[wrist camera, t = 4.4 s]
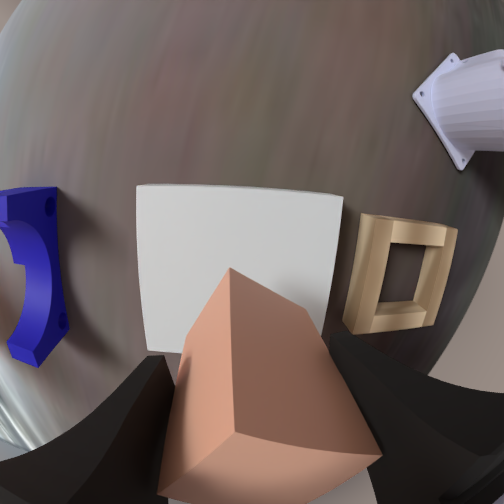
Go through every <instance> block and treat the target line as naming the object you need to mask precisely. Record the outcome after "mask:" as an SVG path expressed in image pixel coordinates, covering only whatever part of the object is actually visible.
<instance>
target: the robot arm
mask: <svg viewBox="0 0 504 504" xmlns="http://www.w3.org/2000/svg"><path fill="white" fill-rule="evenodd" d="M420 93H421V94H422V96H421V95H420ZM413 99H414V101H415V102H416V104H417V105H418V106H419V108H420V109H421V111H422V112H423V113H424V115H425V116H426V118H427V119H428V121H429V122H430V124H431V125H432V127H433V128H434V130H435V131H436V133H437V135H438V136H439V138H440V139H441V141H442V143H443V144H444V146H445V148H446V150H447V151H448V153H449V155H450V157H451V158H452V160H453V162H454V164H455V166H456V168H457V169H458V170H463V169H464V168H465V166H466V164H467V163H468V161H469V160H470V158H471V157H472V155H473V154H474V152H475V150H477V151H501V152H504V50H495V51H491V52H487V53H484V54H480V55H477V56H474V57H470V58H467V59H464V60H461V61H460V59H459V58H458V57H457V55H456V54H454V53H451V54H450V55H449V56H448V57H447V58H446V59H445V60H444V61H443V62H442V63H441V64H440V65H439V66H438V67H437V69H436V70H435V71H434V72H433V73H432V74H431V75H430V76H429V77H428V78H427V79H426V80H425V81H424V82H423V83H422V84H421V85H420V87H419V88H418V89H417V90H416V91H415V92H414V93H413ZM329 354H330V356H331V358H332V359H333V361H334V363H335V365H336V367H337V369H338V371H339V372H340V374H341V375H342V377H343V379H344V381H345V383H346V385H347V386H348V388H349V390H350V392H351V394H352V396H353V398H354V400H355V402H356V404H357V406H358V407H359V409H360V411H361V413H362V415H363V417H364V419H365V421H366V423H367V425H368V427H369V429H370V431H371V433H372V435H373V437H374V439H375V441H376V443H377V445H378V447H379V449H380V451H381V453H382V455H383V456H381V457H380V458H379V459H377V460H376V461H375V462H373V463H372V464H371V465H369V466H368V467H367V470H368V473H369V476H370V479H371V482H372V485H373V489H374V492H375V496H376V500H377V504H504V393H494V392H486V391H479V390H474V389H469V388H464V387H461V386H457V385H453V384H450V383H447V382H443V381H440V380H438V379H435V378H433V377H430V376H427V375H425V374H423V373H420V372H418V371H416V370H414V369H412V368H410V367H408V366H406V365H404V364H402V363H400V362H398V361H396V360H394V359H392V358H391V357H389V356H387V355H385V354H384V353H382V352H380V351H379V350H377V349H375V348H374V347H372V346H370V345H369V344H367V343H366V342H364V341H362V340H361V339H359V338H358V337H356V336H354V335H353V334H351V333H349V332H348V331H343V332H339V333H334V334H330V347H329ZM174 391H175V385H174V382H173V380H172V377H171V374H170V371H169V369H168V366H167V363H166V360H165V357H164V355H158V356H147V357H146V358H145V359H144V360H143V361H142V362H141V363H140V364H139V365H138V366H137V368H136V369H135V370H134V371H133V372H132V373H131V374H130V375H129V376H128V377H127V378H126V379H125V380H124V382H123V383H122V384H121V385H120V386H119V387H118V388H117V389H116V390H115V391H114V392H113V393H112V394H111V395H110V396H109V397H108V398H107V399H106V400H105V401H104V402H103V403H101V404H100V405H99V406H98V407H97V408H96V409H95V410H94V411H93V412H92V413H91V414H89V415H88V416H87V417H86V418H84V419H83V420H82V421H81V422H79V423H78V424H77V425H75V426H74V427H73V428H71V429H70V430H68V431H67V432H65V433H63V434H62V435H60V436H58V437H57V438H55V439H54V440H52V441H50V442H49V443H47V444H45V445H43V446H41V447H39V448H37V449H35V450H32V451H30V452H28V453H25V454H23V455H20V456H17V457H14V458H11V459H8V460H4V461H1V462H0V504H168V498H167V497H164V496H160V495H157V490H158V483H159V476H160V469H161V463H162V456H163V450H164V444H165V438H166V432H167V427H168V421H169V416H170V411H171V407H172V401H173V396H174Z"/></svg>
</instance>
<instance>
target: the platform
mask: <svg viewBox="0 0 504 504" xmlns="http://www.w3.org/2000/svg"><path fill="white" fill-rule="evenodd" d="M342 205H343V197H341V196H337V195H333V194H328V193H319V192H309V191H299V190H287V189H275V188H261V187H245V186H225V185H197V184H145V185H139V186H137V191H136V222H137V252H138V269H139V282H140V293H141V303H142V312H143V320H144V328H145V335H146V342H147V348H148V350H151V351H161V352H173V353H182V352H183V347H184V343H185V339H186V336H187V334H188V332H189V331H190V329H191V328H192V326H193V324H194V323H195V321H196V319H197V318H198V316H199V315H200V313H201V311H202V310H203V308H204V307H205V305H206V303H207V302H208V300H209V299H210V297H211V295H212V294H213V292H214V291H215V289H216V287H217V286H218V284H219V283H220V281H221V280H222V278H223V276H224V275H225V273H226V272H227V270H228V268H229V267H230V268H232V269H234V270H236V271H237V272H239V273H241V274H243V275H245V276H246V277H248V278H250V279H252V280H254V281H255V282H257V283H259V284H261V285H263V286H264V287H266V288H268V289H270V290H272V291H273V292H275V293H277V294H279V295H281V296H283V297H284V298H286V299H288V300H290V301H292V302H294V303H295V304H297V305H299V306H301V307H303V308H305V309H306V310H307V312H308V314H309V316H310V318H311V319H312V321H313V323H314V325H315V327H316V329H317V330H318V332H319V334H320V336H321V334H322V329H323V325H324V320H325V315H326V310H327V305H328V299H329V294H330V288H331V283H332V277H333V271H334V265H335V258H336V252H337V245H338V237H339V230H340V222H341V214H342Z"/></svg>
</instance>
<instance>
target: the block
mask: <svg viewBox="0 0 504 504" xmlns="http://www.w3.org/2000/svg"><path fill="white" fill-rule="evenodd" d="M381 456H383V455H382V453H381V451H380V449H379V447H378V445H377V443H376V441H375V439H374V437H373V435H372V433H371V431H370V429H369V427H368V425H367V423H366V421H365V419H364V417H363V415H362V413H361V411H360V409H359V407H358V406H357V404H356V402H355V400H354V398H353V396H352V394H351V392H350V390H349V388H348V386H347V385H346V383H345V381H344V379H343V377H342V375H341V374H340V372H339V371H338V369H337V367H336V365H335V363H334V361H333V359H332V358H331V356H330V354H329V351H328V349H327V347H326V345H325V343H324V341H323V340H322V338H321V336H320V334H319V332H318V330H317V329H316V327H315V325H314V323H313V321H312V319H311V318H310V316H309V314H308V312H307V310H306V309H305V308H303V307H301V306H299V305H297V304H295V303H294V302H292V301H290V300H288V299H286V298H284V297H283V296H281V295H279V294H277V293H275V292H273V291H272V290H270V289H268V288H266V287H264V286H263V285H261V284H259V283H257V282H255V281H254V280H252V279H250V278H248V277H246V276H245V275H243V274H241V273H239V272H237V271H236V270H234V269H232V268H230V267H229V268H228V270H227V272H226V273H225V275H224V276H223V278H222V280H221V281H220V283H219V284H218V286H217V287H216V289H215V291H214V292H213V294H212V295H211V297H210V299H209V300H208V302H207V303H206V305H205V307H204V308H203V310H202V311H201V313H200V315H199V316H198V318H197V319H196V321H195V323H194V324H193V326H192V328H191V329H190V331H189V332H188V334H187V336H186V339H185V343H184V347H183V352H182V357H181V361H180V366H179V371H178V375H177V380H176V385H175V391H174V396H173V401H172V407H171V411H170V416H169V421H168V427H167V432H166V438H165V444H164V450H163V456H162V463H161V469H160V476H159V483H158V490H157V495H160V496H164V497H167V498H171V499H175V500H179V501H182V502H187V503H191V504H307V503H309V502H311V501H313V500H315V499H316V498H318V497H320V496H322V495H324V494H325V493H327V492H329V491H331V490H332V489H334V488H336V487H337V486H339V485H341V484H342V483H344V482H345V481H347V480H349V479H350V478H352V477H353V476H355V475H356V474H358V473H359V472H361V471H362V470H364V469H365V468H366V467H368V466H369V465H371V464H372V463H373V462H375V461H376V460H377V459H379V458H380V457H381Z"/></svg>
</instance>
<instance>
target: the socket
mask: <svg viewBox="0 0 504 504" xmlns="http://www.w3.org/2000/svg"><path fill="white" fill-rule="evenodd" d="M457 232H458V229H455V228H452V227H449V226H446V225H443V224H439V223H433V222H426V221H419V220H412V219H404V218H397V217H389V216H380V215H372V214H363V213H361V217H360V225H359V232H358V239H357V245H356V252H355V258H354V264H353V269H352V275H351V280H350V285H349V290H348V295H347V300H346V305H345V309H344V314H343V318H342V321H343V323H344V324H345V325H346V327H347V328H348V329H349V331H350V332H351V333H352V334H353V335H354V334H366V333H376V332H385V331H394V330H402V329H410V328H417V327H424V326H430V325H433V324H434V321H435V318H436V315H437V312H438V309H439V306H440V303H441V299H442V296H443V293H444V289H445V285H446V282H447V278H448V274H449V270H450V266H451V262H452V257H453V253H454V248H455V243H456V237H457ZM390 242H393V243H407V244H420V245H426V249H425V254H424V259H423V263H422V268H421V272H420V276H419V280H418V284H417V288H416V292H415V296H414V299H413V301H398V302H380V303H378V299H379V295H380V291H381V287H382V283H383V278H384V273H385V269H386V264H387V259H388V253H389V248H390Z"/></svg>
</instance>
